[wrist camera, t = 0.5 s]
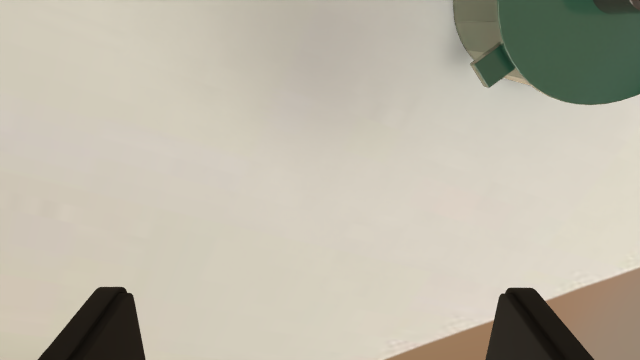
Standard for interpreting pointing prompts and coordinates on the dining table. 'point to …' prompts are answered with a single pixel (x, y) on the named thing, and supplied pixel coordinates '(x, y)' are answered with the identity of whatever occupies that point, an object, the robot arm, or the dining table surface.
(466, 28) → the pot
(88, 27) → the dining table surface
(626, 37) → the lid
